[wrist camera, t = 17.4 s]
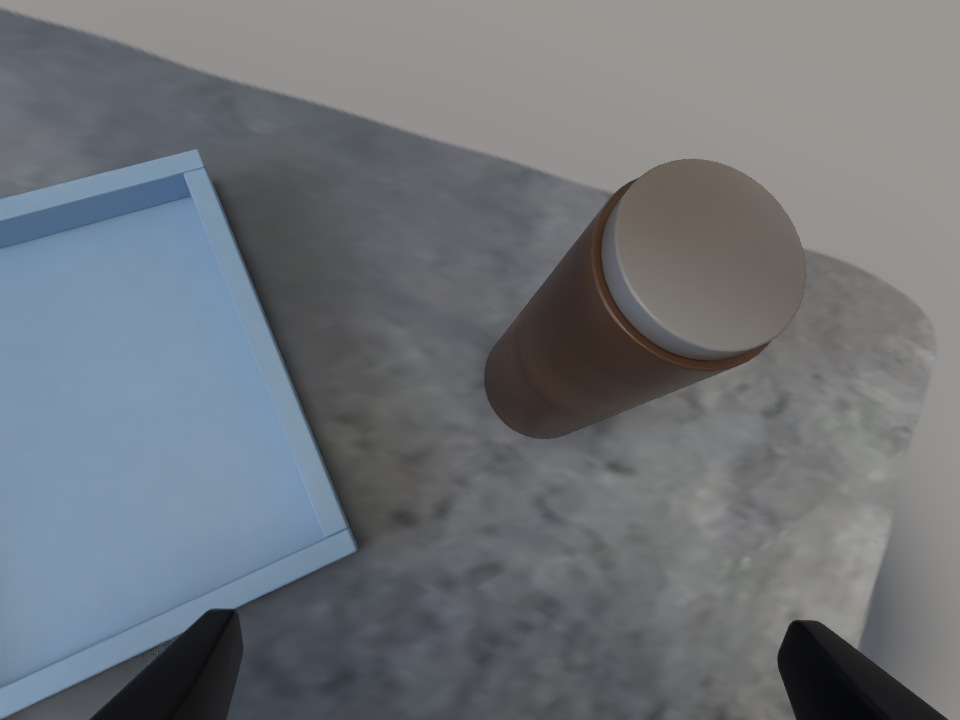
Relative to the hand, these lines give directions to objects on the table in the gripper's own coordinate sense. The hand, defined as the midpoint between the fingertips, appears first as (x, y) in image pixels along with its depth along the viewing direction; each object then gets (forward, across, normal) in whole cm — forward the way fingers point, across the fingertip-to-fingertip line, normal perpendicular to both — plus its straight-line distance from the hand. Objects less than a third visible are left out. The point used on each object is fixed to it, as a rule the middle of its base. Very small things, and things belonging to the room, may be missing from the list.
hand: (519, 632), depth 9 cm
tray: (+12, +14, +4) cm, 18 cm away
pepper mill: (+15, -3, +3) cm, 15 cm away
